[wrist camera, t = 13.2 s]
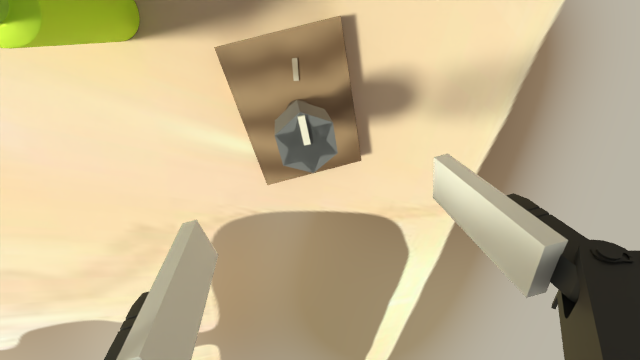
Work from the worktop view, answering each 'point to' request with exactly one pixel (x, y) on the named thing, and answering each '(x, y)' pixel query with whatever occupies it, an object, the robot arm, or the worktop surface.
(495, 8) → the worktop surface
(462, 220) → the robot arm
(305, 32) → the wooden board with bolt
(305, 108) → the knob
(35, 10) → the soap dispenser
